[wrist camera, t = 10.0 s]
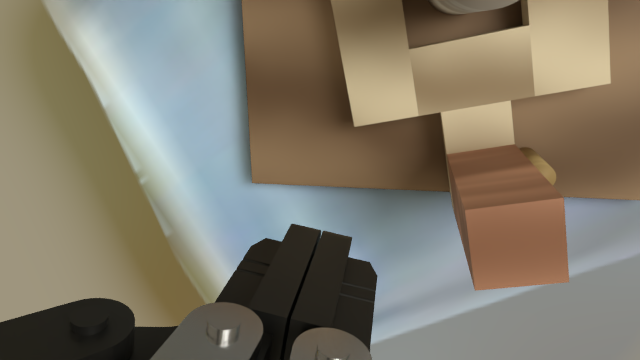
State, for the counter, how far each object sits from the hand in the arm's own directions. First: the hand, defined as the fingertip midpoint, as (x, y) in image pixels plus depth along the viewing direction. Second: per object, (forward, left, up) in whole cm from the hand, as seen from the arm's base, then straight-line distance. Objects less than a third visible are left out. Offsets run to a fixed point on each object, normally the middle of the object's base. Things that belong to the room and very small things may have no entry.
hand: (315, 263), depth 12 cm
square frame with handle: (-5, +5, -13) cm, 15 cm away
